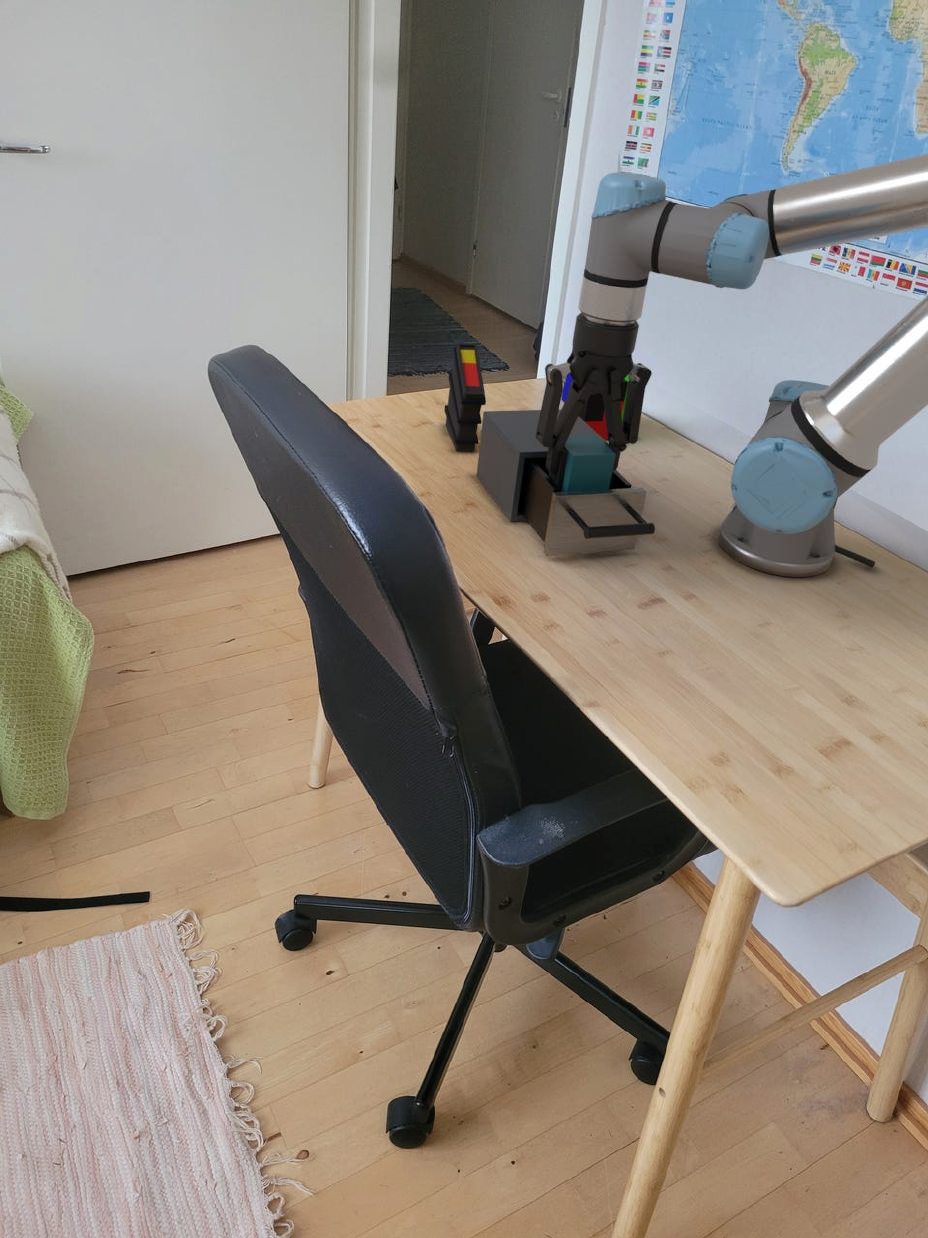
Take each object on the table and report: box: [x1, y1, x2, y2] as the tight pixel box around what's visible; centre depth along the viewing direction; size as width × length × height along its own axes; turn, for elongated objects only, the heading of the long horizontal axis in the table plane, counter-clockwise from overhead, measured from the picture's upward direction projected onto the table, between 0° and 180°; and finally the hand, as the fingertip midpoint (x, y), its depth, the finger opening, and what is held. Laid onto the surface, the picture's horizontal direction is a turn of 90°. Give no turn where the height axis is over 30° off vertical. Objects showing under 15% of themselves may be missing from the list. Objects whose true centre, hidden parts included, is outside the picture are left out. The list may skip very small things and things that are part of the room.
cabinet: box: [476, 409, 607, 523], centre depth 136 cm, size 15×14×10 cm
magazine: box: [443, 342, 487, 453], centre depth 151 cm, size 4×13×15 cm, turn 10°
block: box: [549, 436, 616, 492], centre depth 124 cm, size 6×6×7 cm
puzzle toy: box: [559, 373, 629, 441], centre depth 162 cm, size 10×10×10 cm
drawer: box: [518, 457, 656, 557], centre depth 124 cm, size 20×13×8 cm, turn 18°
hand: (577, 492), depth 126 cm, fingers closed on block, 6 cm apart
